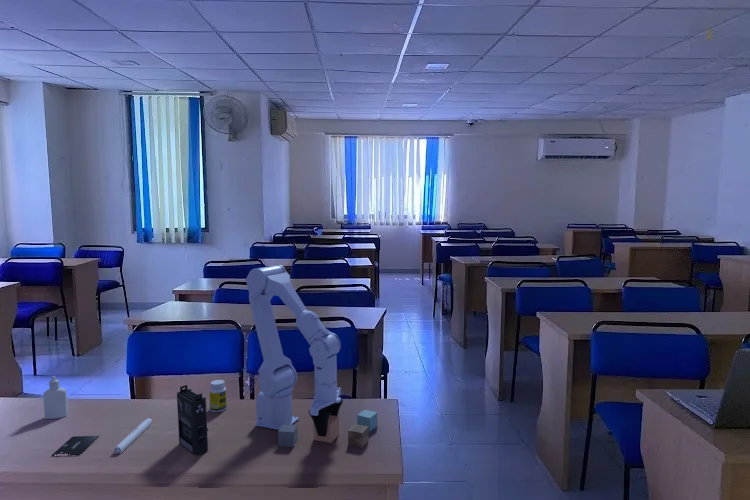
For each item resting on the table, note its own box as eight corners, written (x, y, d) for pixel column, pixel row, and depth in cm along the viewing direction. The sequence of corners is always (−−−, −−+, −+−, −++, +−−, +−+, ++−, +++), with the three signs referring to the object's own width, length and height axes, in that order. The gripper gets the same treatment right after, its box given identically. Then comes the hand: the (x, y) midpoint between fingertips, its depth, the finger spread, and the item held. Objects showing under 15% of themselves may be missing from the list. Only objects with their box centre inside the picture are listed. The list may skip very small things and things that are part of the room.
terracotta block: (313, 439, 134) (313, 421, 134) (322, 431, 139) (322, 413, 138) (331, 443, 133) (330, 424, 132) (339, 434, 137) (339, 416, 137)
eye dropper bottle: (53, 412, 152) (50, 373, 150) (71, 413, 151) (68, 374, 150) (42, 419, 147) (38, 378, 146) (59, 420, 147) (56, 379, 145)
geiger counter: (214, 450, 129) (211, 392, 127) (196, 457, 126) (194, 398, 124) (194, 437, 136) (191, 382, 134) (177, 443, 133) (174, 386, 131)
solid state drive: (51, 458, 126) (50, 455, 126) (72, 438, 136) (72, 436, 136) (80, 457, 127) (80, 454, 127) (99, 438, 137) (99, 435, 137)
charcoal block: (278, 446, 131) (278, 431, 131) (282, 439, 135) (282, 424, 135) (294, 447, 131) (293, 432, 130) (297, 439, 135) (297, 424, 134)
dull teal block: (357, 428, 141) (357, 414, 140) (365, 423, 144) (364, 409, 144) (369, 432, 139) (369, 418, 138) (377, 426, 142) (377, 412, 142)
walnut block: (348, 445, 131) (347, 430, 131) (354, 438, 135) (354, 423, 135) (362, 448, 130) (362, 433, 130) (368, 441, 134) (368, 426, 133)
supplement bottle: (221, 413, 151) (220, 385, 150) (207, 412, 152) (205, 384, 151) (229, 406, 155) (228, 379, 154) (215, 405, 156) (214, 378, 155)
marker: (147, 422, 146) (147, 414, 145) (154, 422, 146) (154, 414, 145) (113, 454, 128) (113, 445, 127) (121, 455, 128) (121, 446, 127)
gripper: (327, 393, 126) (328, 446, 127) (350, 373, 139) (351, 421, 141) (301, 389, 128) (303, 441, 130) (327, 370, 142) (328, 417, 143)
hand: (326, 430), depth 136 cm, fingers closed on terracotta block, 5 cm apart
